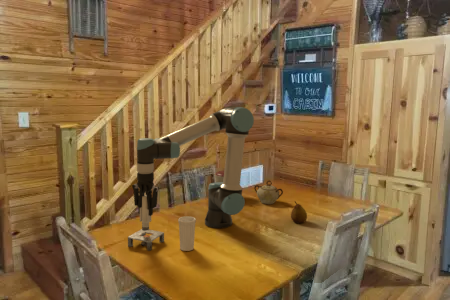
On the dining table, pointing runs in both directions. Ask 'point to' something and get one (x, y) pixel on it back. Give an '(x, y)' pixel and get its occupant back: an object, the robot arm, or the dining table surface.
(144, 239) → the stand
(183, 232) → the cup
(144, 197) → the beige rod
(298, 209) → the fruit
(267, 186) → the sugar bowl
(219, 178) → the canister
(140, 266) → the dining table surface
